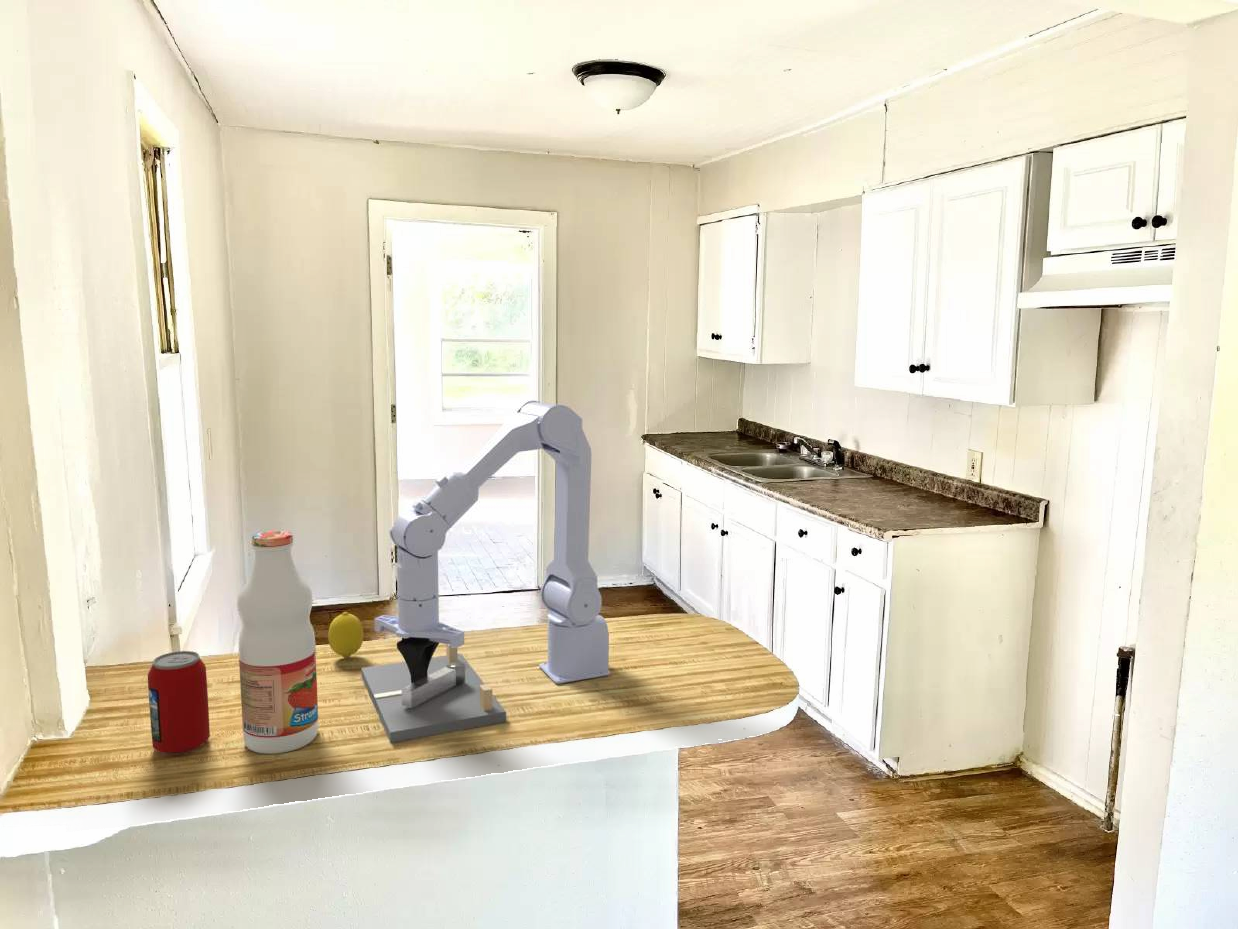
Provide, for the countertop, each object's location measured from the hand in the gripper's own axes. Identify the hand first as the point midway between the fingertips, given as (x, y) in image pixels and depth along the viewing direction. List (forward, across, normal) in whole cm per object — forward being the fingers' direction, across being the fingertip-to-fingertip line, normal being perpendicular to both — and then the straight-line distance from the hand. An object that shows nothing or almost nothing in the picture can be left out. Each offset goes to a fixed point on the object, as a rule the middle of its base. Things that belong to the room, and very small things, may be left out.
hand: (419, 685), depth 125 cm
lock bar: (+1, +2, +2) cm, 3 cm away
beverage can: (+4, -20, -24) cm, 31 cm away
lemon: (+4, -23, +10) cm, 25 cm away
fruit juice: (+4, -10, -16) cm, 20 cm away
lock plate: (+3, -1, +3) cm, 5 cm away
